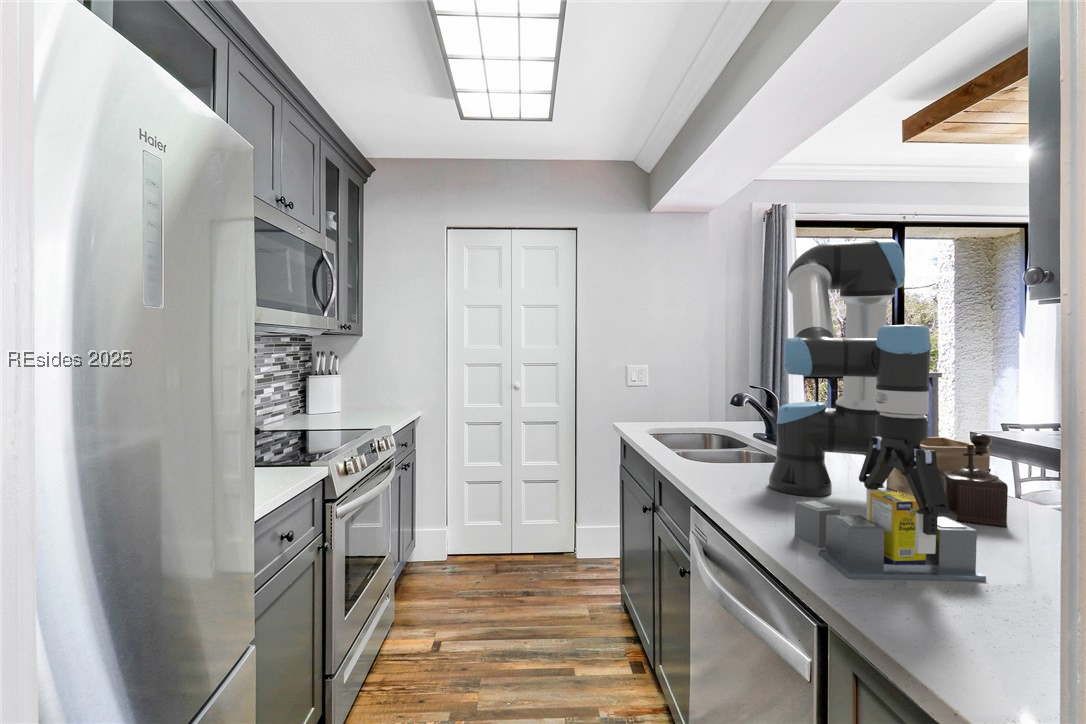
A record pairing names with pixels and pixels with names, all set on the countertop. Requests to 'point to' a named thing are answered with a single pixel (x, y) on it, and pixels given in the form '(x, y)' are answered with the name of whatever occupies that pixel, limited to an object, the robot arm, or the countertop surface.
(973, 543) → the rail panel
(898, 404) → the robot arm
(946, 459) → the bottle crate
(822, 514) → the module
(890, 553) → the supplement box
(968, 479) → the manual coffee grinder
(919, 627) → the countertop surface
